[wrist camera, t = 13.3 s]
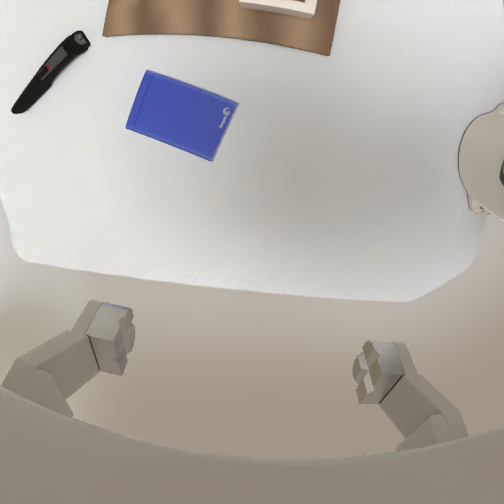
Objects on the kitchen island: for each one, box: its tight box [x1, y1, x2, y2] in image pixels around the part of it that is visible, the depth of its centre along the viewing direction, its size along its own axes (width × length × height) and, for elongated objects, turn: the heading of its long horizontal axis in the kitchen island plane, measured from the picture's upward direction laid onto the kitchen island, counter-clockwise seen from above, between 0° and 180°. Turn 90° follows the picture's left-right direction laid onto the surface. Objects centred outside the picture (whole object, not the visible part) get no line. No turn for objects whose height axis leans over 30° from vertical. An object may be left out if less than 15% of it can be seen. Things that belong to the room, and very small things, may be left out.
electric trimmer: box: [11, 31, 90, 114], centre depth 29 cm, size 4×16×3 cm, turn 120°
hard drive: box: [126, 70, 239, 162], centre depth 34 cm, size 2×8×12 cm
